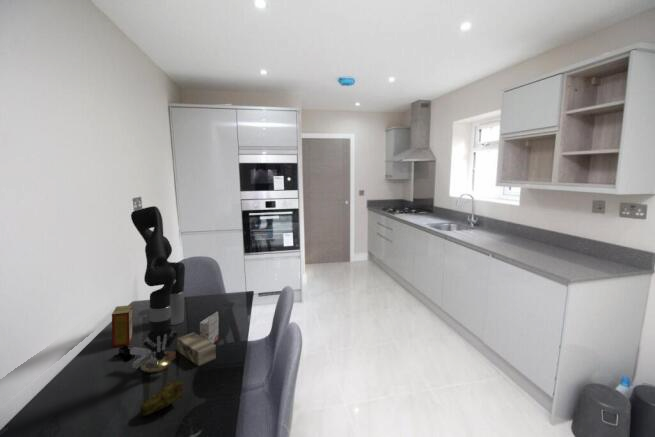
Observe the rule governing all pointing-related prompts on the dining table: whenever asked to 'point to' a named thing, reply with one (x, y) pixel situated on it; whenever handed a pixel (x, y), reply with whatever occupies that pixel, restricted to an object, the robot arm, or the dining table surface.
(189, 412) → the dining table surface
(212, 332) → the ink cartridge box
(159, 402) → the potato
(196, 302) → the dining table surface
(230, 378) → the dining table surface
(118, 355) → the black angular block
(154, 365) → the capstan
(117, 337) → the baking soda box
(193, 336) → the cardboard box
